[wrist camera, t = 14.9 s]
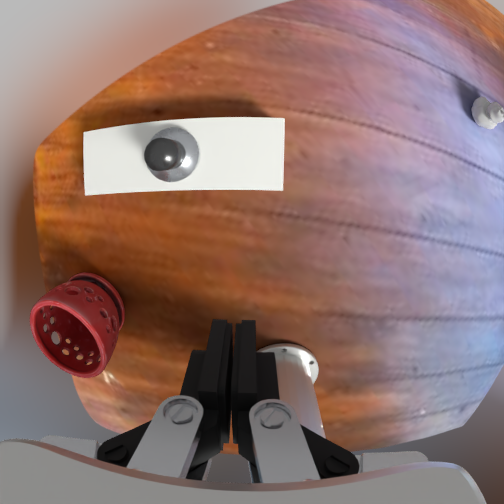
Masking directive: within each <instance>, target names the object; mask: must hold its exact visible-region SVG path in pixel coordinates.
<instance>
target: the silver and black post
mask: <svg viewBox="0 0 504 504" xmlns="http://www.w3.org/2000/svg"><path fill="white" fill-rule="evenodd" d="M144 159H145V162H146V164H147V167H148V169H149V170H150V172H151V173H152V174H153V175H154V176H155V177H156V178H158V179H159V180H162V181H165V182H176V181H180V180H183V179H185V178H187V177H188V176H190V175H191V174H192V173H193V172H194V171H195V169H196V168H197V166H198V163H199V160H200V147H199V144H198V142H197V140H196V138H195V137H194V136H193V135H192V134H191V133H190V132H188V131H186V130H184V129H181V128H176V127H171V128H166V129H163V130H161V131H159V132H158V133H156V134H155V135H154V136H153V137H152V139H151V140H150V142H149V143H148V145H147V146H146V148H145V152H144Z"/></svg>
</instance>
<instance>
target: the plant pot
mask: <svg viewBox="0 0 504 504" xmlns="http://www.w3.org/2000/svg"><path fill="white" fill-rule="evenodd" d="M51 305H52V308H51V309H50V306H51ZM44 313H45V317H44V318H43V314H44ZM51 317H54V323H53V324H51V323H50V318H51ZM124 319H125V309H124V305H123V302H122V299H121V297H120V295H119V293H118V292H117V290H116V289H115V288H114V287H113V286H112V285H111V284H110V283H109V282H108V281H107V280H105V279H104V278H102V277H101V276H98V275H96V274H93V273H79V274H76V275H74V276H72V277H71V278H70V279H69V280H68V282H66V283H63V284H61V285H59V286H57V287H55V288H53V289H51V290H50V291H49V292H48V293H46V294H45V295H44V296H42V297H41V298H40V299H39V300H38V302H37V303H36V304H35V305H34V306H33V308H32V310H31V314H30V326H31V331H32V334H33V337H34V339H35V341H36V343H37V345H38V346H39V348H40V349H41V351H42V352H43V353H44V355H45V356H46V357H47V358H48V359H49V360H50V361H51V362H52V363H54V364H55V365H56V366H57V367H59V368H60V369H62V370H64V371H65V372H67V373H69V374H72V375H74V376H78V377H82V378H91V377H95V376H97V375H99V374H100V373H102V372H103V370H104V369H105V367H106V365H107V364H108V362H109V360H110V358H111V356H112V353H113V351H114V349H115V346H116V343H117V339H118V334H119V330H120V329H121V327H122V326H123V323H124ZM45 324H46V325H47V331H46V332H44V329H43V326H44V325H45ZM54 331H55V332H57V333H58V334H59V336H60V343H59V344H57V345H56V344H54V343H53V342H52V339H51V335H52V332H54ZM66 339H69V340H70V341H71V342H70V344H68V343H67V342H66V341H65V340H66ZM74 347H78V348H79V350H78V351H76V350H74ZM63 349H66V350H67V351H68V352H69V355H65V354H63V352H62V350H63ZM92 353H94V355H92V356H89V355H90V354H92ZM78 355H81V356H83V359H82V360H78V359H76V357H77V356H78ZM100 357H101V360H100V361H98V360H99V358H100ZM91 361H92V364H90V365H86V364H87V363H88V362H91Z"/></svg>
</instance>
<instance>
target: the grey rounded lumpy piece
mask: <svg viewBox="0 0 504 504" xmlns="http://www.w3.org/2000/svg"><path fill="white" fill-rule="evenodd" d="M471 111H472V115H473V118H474V120H475V122H476V123H477V125H479V126H480V127H484V128H486V129H493V128H494V127H495V126H496V125H497V123H500V122H503V121H504V110H503V107H502V106H501V105H499V104H498V103H497V102H492V103H490V102H489V101H488V100H487V99H486V98H485V97H479V98H477V99H476V100H475V101H474V103H473V106H472V108H471Z"/></svg>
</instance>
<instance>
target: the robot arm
mask: <svg viewBox="0 0 504 504" xmlns="http://www.w3.org/2000/svg"><path fill="white" fill-rule="evenodd" d="M318 370H319V368H318V363H317V360H316V358H315V356H314V355H313V354H312V353H311V352H310V351H309V350H307V349H306V348H304V347H302V346H299V345H295V344H290V343H281V344H274V345H270V346H266V347H264V348H262V349H260V350H258V351H257V352H256V328H255V320H242V324H236V333H235V345H234V356H233V334H232V323H227V320H218V319H213V322H212V326H211V331H210V335H209V340H208V345H207V349H206V351H204V350H193V351H192V353H191V356H190V360H189V363H188V367H187V371H186V374H185V378H184V382H183V385H182V389H181V393H180V395H179V396H173V397H170V398H168V399H166V400H165V401H163V402H162V404H161V405H160V406H159V408H158V410H157V412H156V413H155V415H154V417H153V419H152V420H151V421H149V422H147V423H145V424H143V425H141V426H138V427H136V428H134V429H132V430H130V431H127V432H125V433H123V434H121V435H118V436H116V437H114V438H111V439H109V440H107V441H106V442H104V443H98V442H97V441H96V440H85V439H76V438H68V437H61V436H54V435H50V436H49V435H48V436H46V437H43V438H42V439H41V440H40V441H35V440H28V439H8V440H4V441H1V442H0V504H486V501H485V499H484V497H483V495H482V493H481V491H480V490H479V488H478V486H477V484H476V483H475V482H474V480H473V478H472V477H471V476H470V475H469V473H468V472H467V471H466V470H465V469H464V468H462V467H460V466H459V465H456V464H452V463H446V462H429V461H428V459H427V457H426V456H425V455H424V454H422V453H420V452H418V451H405V452H391V453H390V452H388V453H363V454H362V455H361V456H360V455H353V454H352V453H351V452H349V451H347V450H346V449H344V448H342V447H340V446H338V445H336V444H334V443H332V442H331V441H329V440H327V439H326V437H325V433H324V429H323V424H322V420H321V416H320V411H319V407H318V403H317V399H316V394H315V390H314V386H313V384H314V382H315V380H316V379H317V376H318ZM231 411H232V429H233V443H234V444H238V451H239V454H241V455H242V456H243V457H244V458H246V459H247V460H248V461H249V469H250V474H251V480H252V483H223V482H209V481H206V478H207V475H208V472H209V469H210V465H211V461H212V457H213V456H215V455H216V454H218V453H220V450H223V443H229V435H230V421H231Z"/></svg>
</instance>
